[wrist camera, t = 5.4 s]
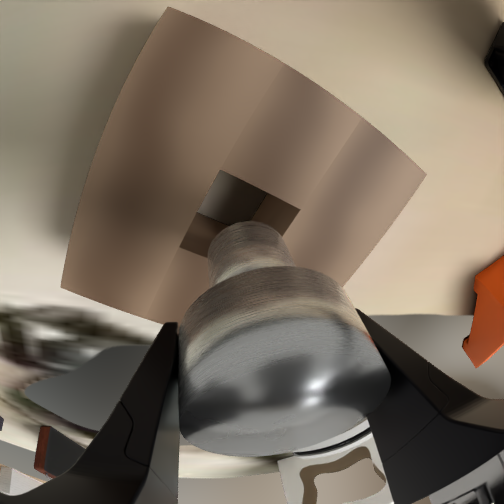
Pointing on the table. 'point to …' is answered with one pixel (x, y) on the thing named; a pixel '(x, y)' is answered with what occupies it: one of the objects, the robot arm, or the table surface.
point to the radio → (55, 452)
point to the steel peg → (272, 352)
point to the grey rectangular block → (16, 482)
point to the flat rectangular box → (1, 423)
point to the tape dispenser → (487, 315)
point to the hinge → (338, 442)
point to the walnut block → (228, 160)
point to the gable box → (305, 470)
